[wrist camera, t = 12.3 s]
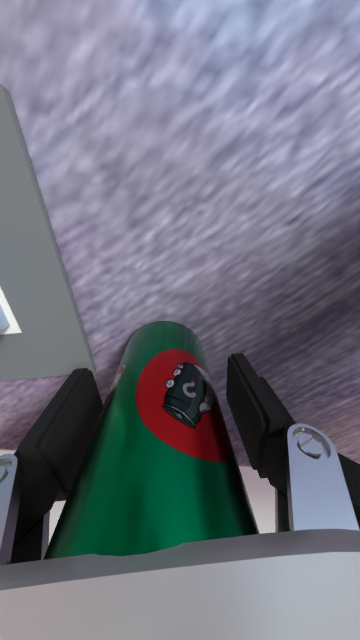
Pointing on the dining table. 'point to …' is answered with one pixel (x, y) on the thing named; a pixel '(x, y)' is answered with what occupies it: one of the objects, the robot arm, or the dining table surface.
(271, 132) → the dining table surface
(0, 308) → the blue block
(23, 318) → the mat
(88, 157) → the dining table surface
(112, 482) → the soda can
